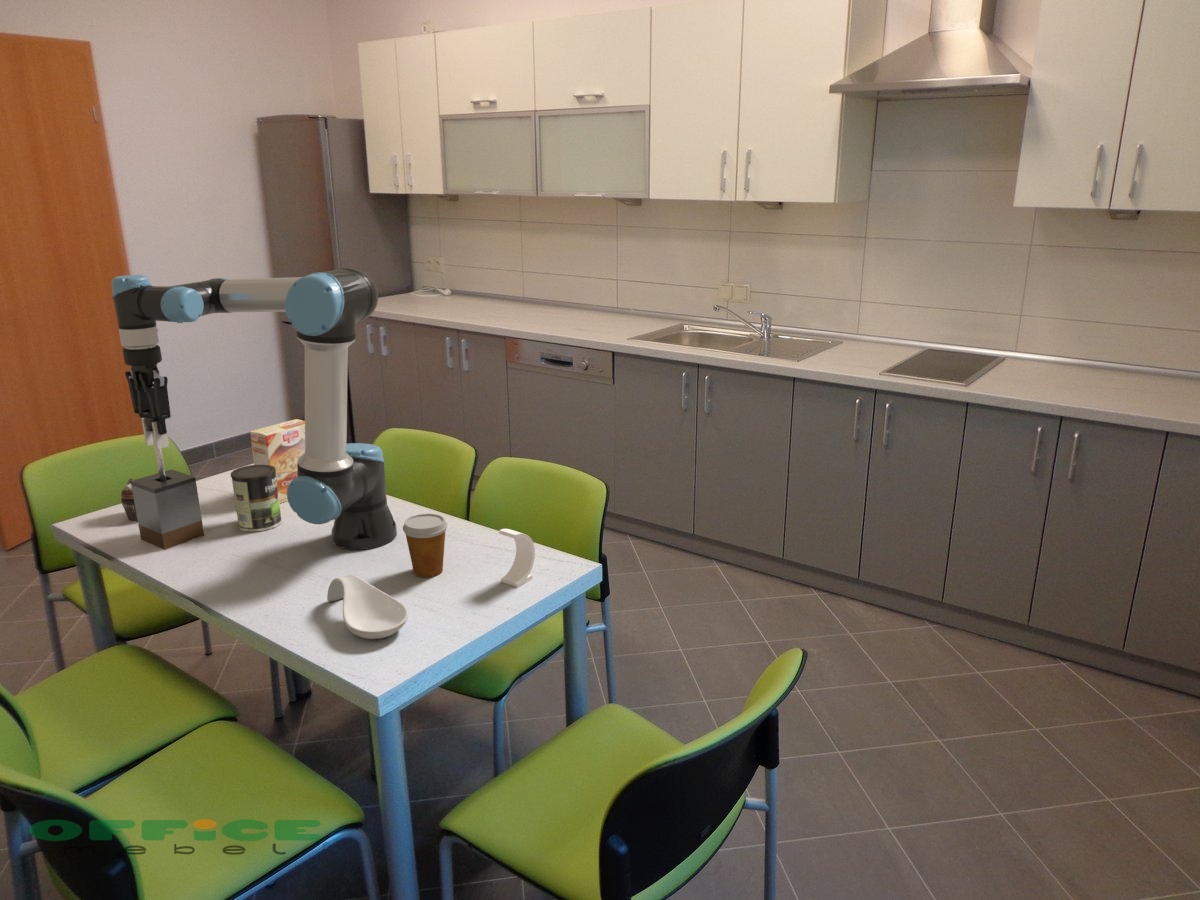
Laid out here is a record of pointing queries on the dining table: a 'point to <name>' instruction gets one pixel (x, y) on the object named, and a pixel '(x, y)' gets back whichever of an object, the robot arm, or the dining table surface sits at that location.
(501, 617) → the dining table surface
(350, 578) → the spoon rest
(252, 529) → the coffee can
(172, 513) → the grey brown upright block
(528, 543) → the headphone stand
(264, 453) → the coffeecake box
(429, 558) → the disposable coffee cup
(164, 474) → the plunger
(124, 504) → the cupcake
